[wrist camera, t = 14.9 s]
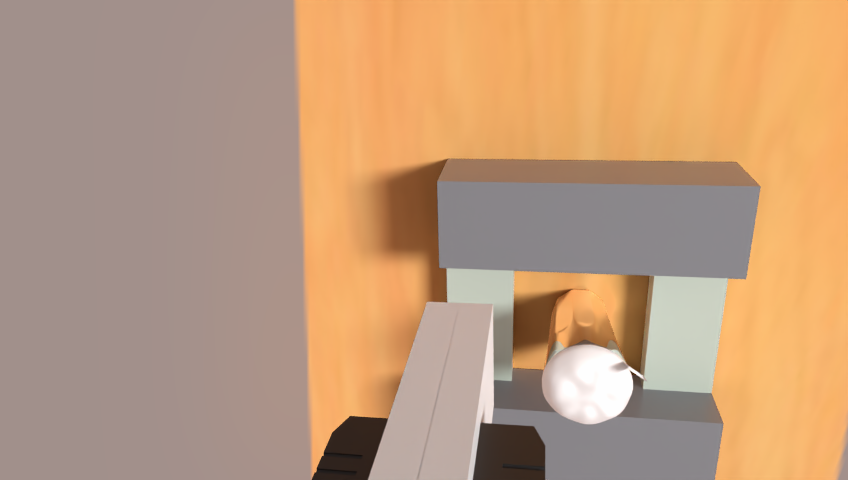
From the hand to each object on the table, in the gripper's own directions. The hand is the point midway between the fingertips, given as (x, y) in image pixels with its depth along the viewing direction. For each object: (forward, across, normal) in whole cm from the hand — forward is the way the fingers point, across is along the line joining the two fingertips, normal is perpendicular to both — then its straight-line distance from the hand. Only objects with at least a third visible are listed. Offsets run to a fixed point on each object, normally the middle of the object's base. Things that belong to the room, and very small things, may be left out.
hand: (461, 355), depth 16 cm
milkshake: (+25, +5, -12) cm, 28 cm away
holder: (+25, +4, -12) cm, 28 cm away
